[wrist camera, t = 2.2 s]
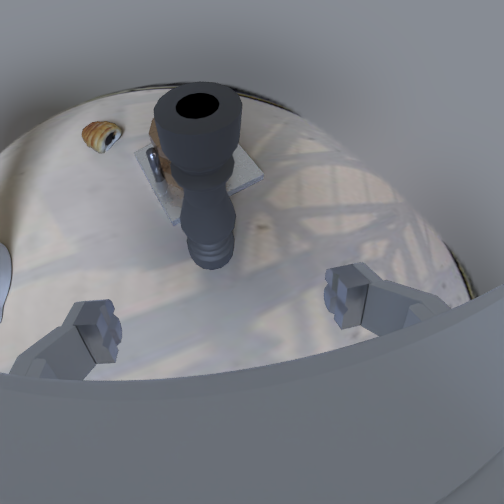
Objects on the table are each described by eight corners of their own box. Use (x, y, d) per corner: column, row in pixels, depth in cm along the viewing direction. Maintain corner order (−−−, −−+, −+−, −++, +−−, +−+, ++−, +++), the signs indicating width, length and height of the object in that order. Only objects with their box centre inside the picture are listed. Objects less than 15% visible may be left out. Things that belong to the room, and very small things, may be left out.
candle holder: (180, 249, 38) (131, 111, 15) (210, 220, 40) (200, 71, 17) (212, 278, 37) (193, 155, 14) (242, 247, 39) (266, 104, 16)
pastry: (77, 143, 44) (70, 131, 40) (99, 122, 46) (94, 109, 43) (103, 157, 43) (96, 144, 40) (127, 133, 45) (122, 120, 42)
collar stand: (173, 226, 39) (159, 188, 30) (135, 157, 43) (121, 117, 34) (263, 179, 43) (272, 137, 34) (214, 122, 47) (213, 80, 38)
